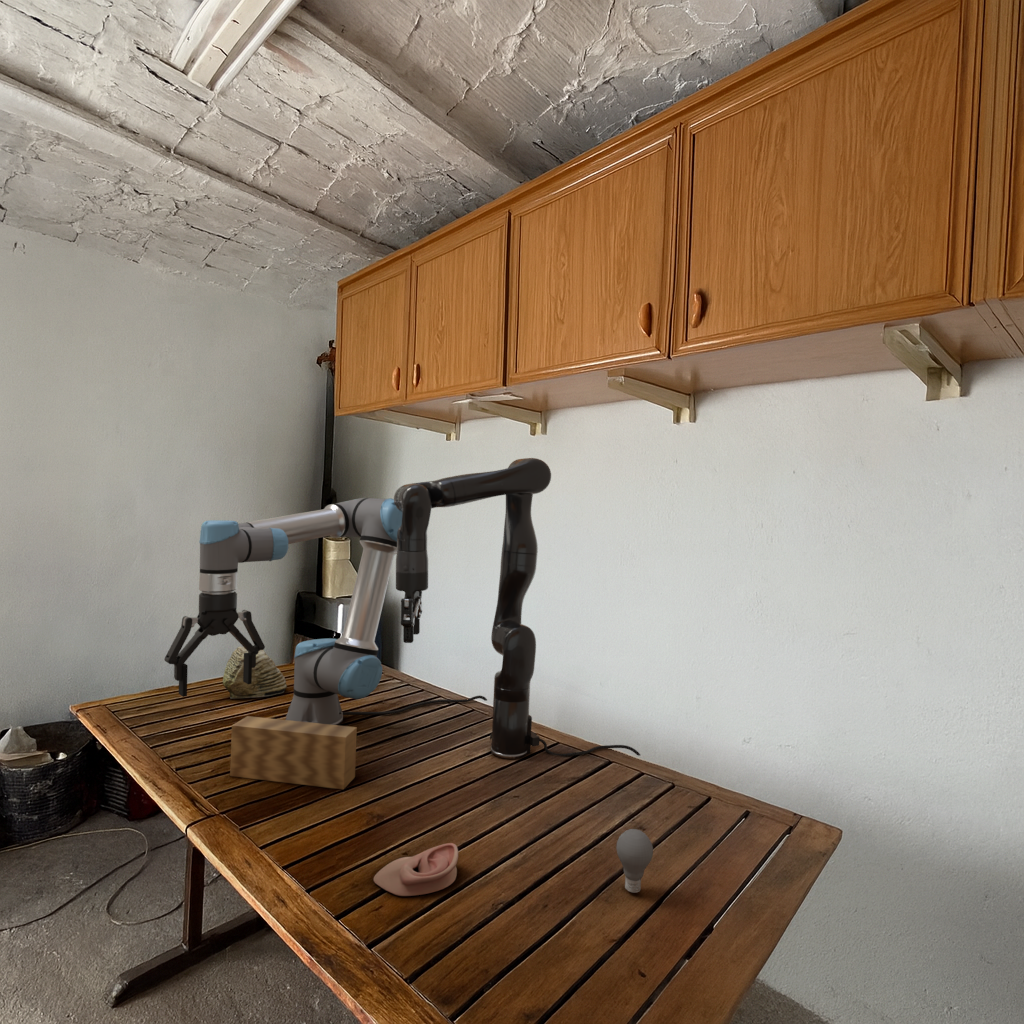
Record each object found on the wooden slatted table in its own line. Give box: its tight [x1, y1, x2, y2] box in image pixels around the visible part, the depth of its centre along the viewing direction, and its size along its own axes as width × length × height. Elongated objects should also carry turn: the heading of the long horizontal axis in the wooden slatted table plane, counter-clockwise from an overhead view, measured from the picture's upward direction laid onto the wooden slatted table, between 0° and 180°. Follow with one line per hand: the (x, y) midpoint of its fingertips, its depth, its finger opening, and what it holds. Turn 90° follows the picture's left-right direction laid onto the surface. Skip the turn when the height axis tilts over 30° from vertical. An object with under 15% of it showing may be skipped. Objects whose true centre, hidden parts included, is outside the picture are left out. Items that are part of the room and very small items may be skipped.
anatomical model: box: [373, 842, 459, 897], centre depth 107 cm, size 13×4×12 cm
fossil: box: [222, 646, 288, 699], centre depth 198 cm, size 9×18×15 cm, turn 132°
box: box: [229, 715, 358, 790], centre depth 142 cm, size 27×6×12 cm, turn 81°
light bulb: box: [615, 828, 654, 894], centre depth 106 cm, size 6×6×10 cm
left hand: (216, 688), depth 138 cm, fingers open, 13 cm apart
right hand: (411, 638), depth 149 cm, fingers open, 8 cm apart
